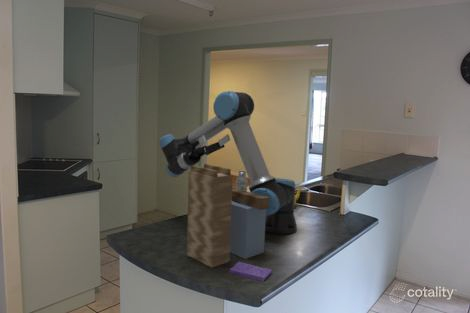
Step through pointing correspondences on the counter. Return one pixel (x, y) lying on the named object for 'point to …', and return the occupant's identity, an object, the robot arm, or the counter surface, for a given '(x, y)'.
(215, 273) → the counter surface
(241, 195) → the walnut bar
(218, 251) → the oak post
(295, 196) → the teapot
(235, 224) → the blue step
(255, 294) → the counter surface
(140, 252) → the counter surface
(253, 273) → the sponges
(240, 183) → the plastic bottle
